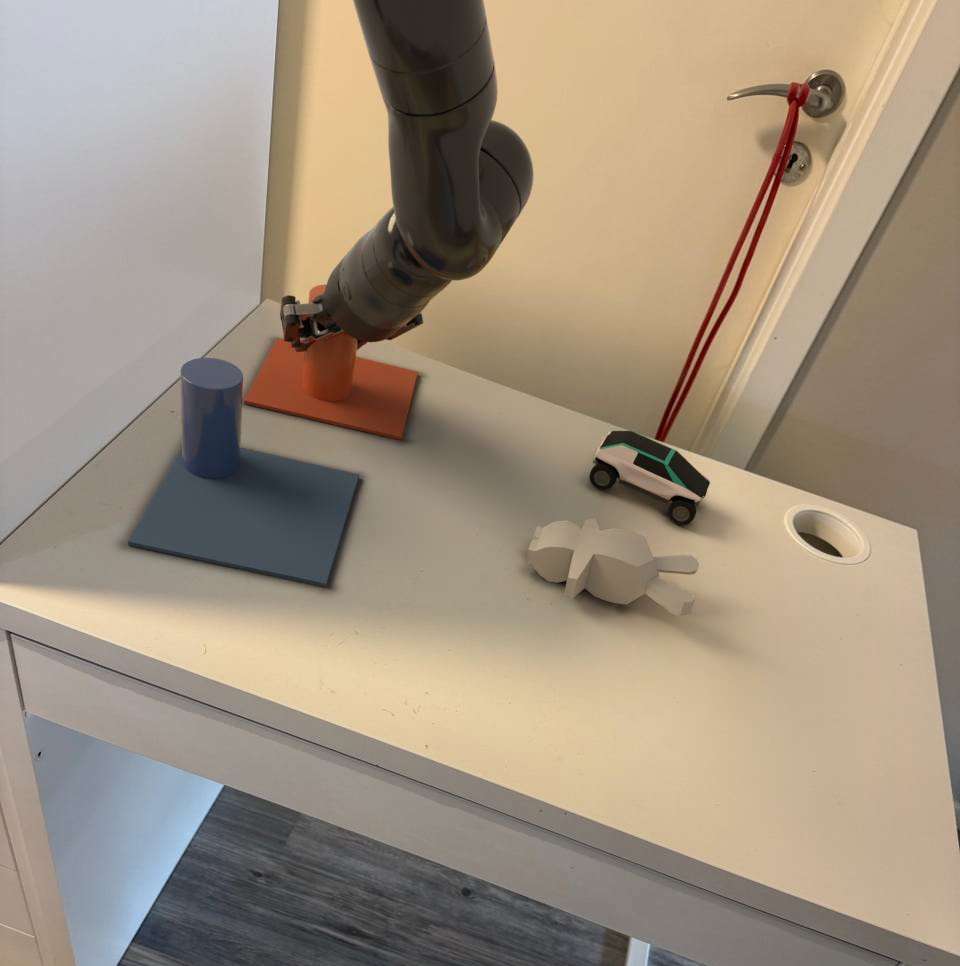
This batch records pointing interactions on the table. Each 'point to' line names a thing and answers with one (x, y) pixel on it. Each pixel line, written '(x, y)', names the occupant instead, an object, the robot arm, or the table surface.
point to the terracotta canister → (329, 364)
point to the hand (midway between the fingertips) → (324, 341)
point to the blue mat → (253, 516)
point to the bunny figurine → (608, 564)
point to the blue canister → (211, 417)
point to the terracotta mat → (368, 408)
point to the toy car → (650, 472)
